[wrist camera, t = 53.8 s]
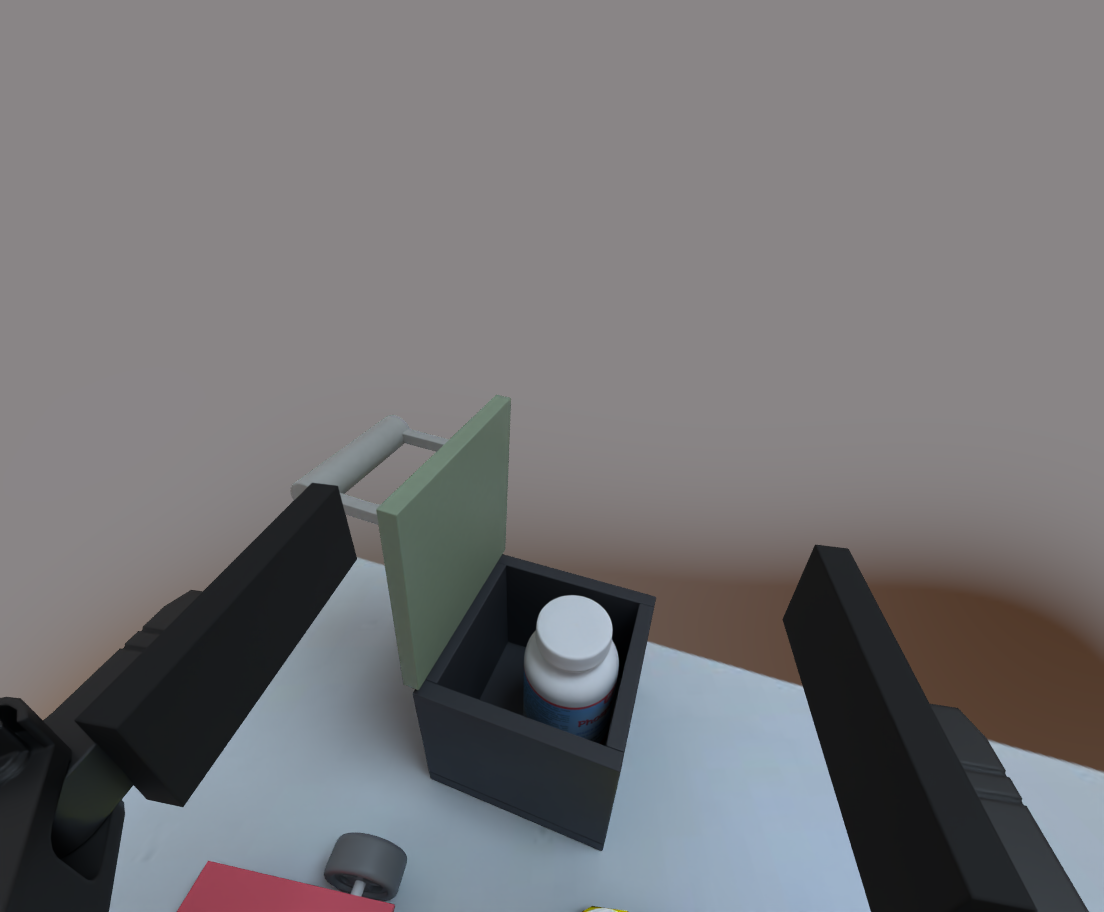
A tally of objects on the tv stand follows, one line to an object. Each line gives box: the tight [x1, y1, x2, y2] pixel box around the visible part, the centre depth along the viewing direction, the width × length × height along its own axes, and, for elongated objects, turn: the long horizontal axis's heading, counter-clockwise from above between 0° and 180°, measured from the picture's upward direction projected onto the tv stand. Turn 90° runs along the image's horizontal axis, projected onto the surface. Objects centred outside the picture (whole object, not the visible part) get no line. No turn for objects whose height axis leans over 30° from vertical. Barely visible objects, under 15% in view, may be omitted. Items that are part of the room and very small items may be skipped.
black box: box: [413, 554, 656, 851], centre depth 33 cm, size 12×12×10 cm
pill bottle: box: [523, 595, 619, 745], centre depth 32 cm, size 6×6×11 cm
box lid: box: [291, 395, 511, 690], centre depth 29 cm, size 13×12×8 cm
